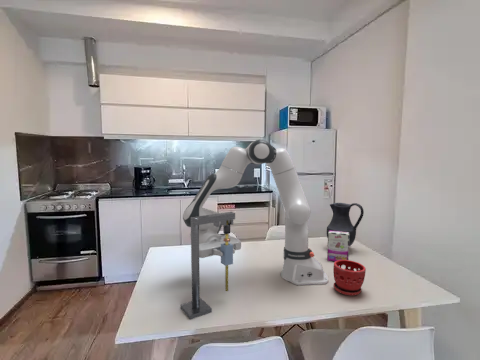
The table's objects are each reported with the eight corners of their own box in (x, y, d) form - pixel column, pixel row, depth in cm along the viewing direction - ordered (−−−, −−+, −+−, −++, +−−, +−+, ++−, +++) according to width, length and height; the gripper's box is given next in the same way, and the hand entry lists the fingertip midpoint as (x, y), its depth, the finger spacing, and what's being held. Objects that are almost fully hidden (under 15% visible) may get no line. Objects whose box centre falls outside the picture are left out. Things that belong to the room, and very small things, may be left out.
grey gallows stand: (227, 293, 127) (227, 210, 123) (238, 302, 120) (239, 214, 116) (180, 308, 115) (178, 217, 111) (190, 319, 108) (188, 222, 104)
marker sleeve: (228, 261, 123) (228, 242, 122) (232, 263, 120) (233, 244, 119) (220, 262, 121) (220, 243, 120) (225, 265, 118) (225, 246, 117)
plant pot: (347, 300, 122) (348, 273, 120) (326, 287, 134) (327, 261, 132) (371, 294, 127) (372, 268, 126) (348, 281, 139) (349, 257, 137)
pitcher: (331, 243, 194) (333, 198, 190) (364, 250, 182) (367, 202, 178) (321, 251, 180) (323, 202, 176) (357, 258, 168) (359, 206, 164)
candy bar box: (348, 260, 165) (349, 232, 163) (348, 263, 160) (349, 234, 158) (327, 257, 169) (328, 229, 167) (326, 260, 164) (327, 232, 162)
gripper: (189, 240, 124) (204, 250, 113) (231, 233, 136) (248, 241, 124) (190, 255, 125) (205, 266, 114) (231, 246, 136) (248, 255, 125)
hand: (228, 253), depth 119 cm, fingers closed on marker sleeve, 4 cm apart
